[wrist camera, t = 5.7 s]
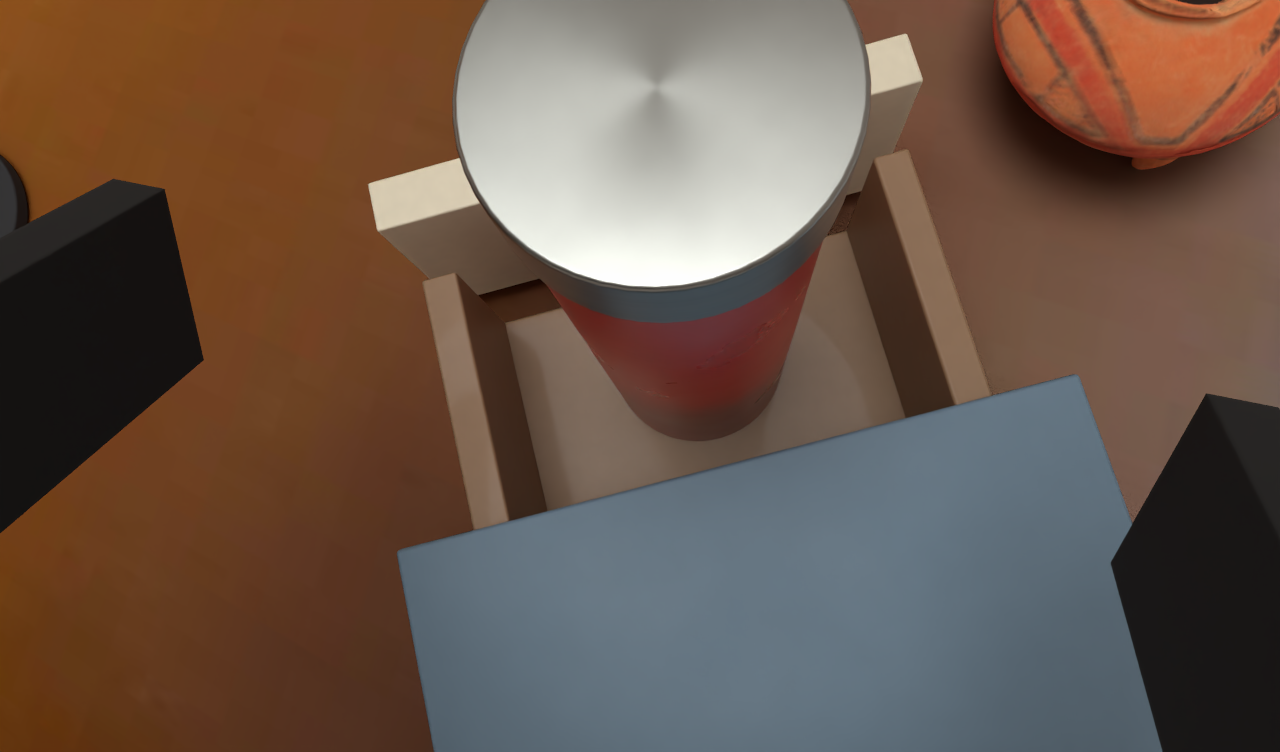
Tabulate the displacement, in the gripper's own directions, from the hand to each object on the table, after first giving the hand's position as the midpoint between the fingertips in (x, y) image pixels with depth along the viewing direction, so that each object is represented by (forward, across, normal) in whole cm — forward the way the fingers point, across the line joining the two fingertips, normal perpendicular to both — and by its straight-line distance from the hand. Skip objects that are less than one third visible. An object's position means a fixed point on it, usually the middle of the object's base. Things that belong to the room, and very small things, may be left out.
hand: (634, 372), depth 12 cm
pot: (+20, -9, 0) cm, 22 cm away
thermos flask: (+10, 0, +6) cm, 12 cm away
